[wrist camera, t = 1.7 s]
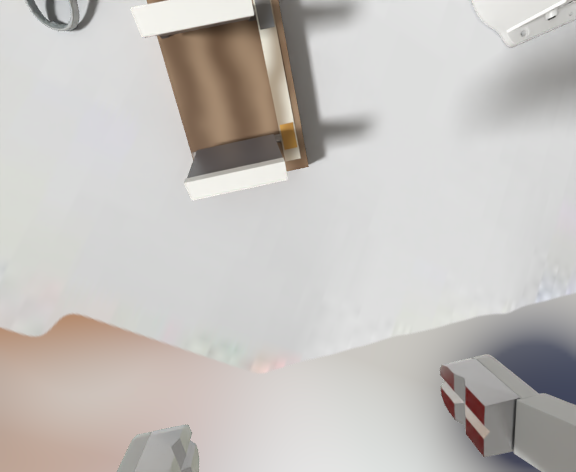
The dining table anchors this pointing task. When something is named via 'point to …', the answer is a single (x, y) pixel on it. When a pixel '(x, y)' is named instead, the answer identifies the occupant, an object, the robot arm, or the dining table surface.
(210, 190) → the grey board
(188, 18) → the lever slate
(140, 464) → the robot arm
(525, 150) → the dining table surface
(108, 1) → the dining table surface
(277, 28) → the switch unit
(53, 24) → the ceramic mug
